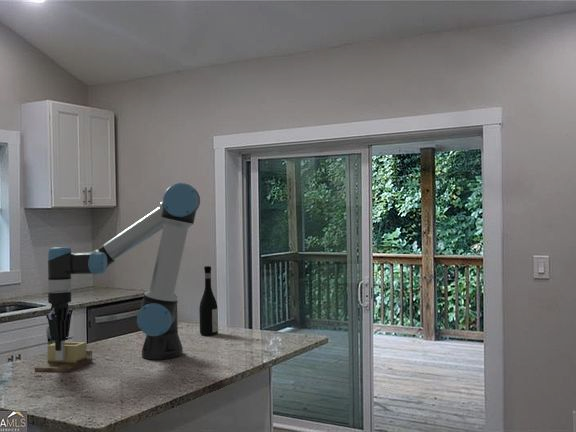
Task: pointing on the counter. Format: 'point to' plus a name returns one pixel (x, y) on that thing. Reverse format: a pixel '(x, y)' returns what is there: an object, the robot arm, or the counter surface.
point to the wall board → (64, 365)
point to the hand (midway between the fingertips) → (60, 359)
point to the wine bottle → (208, 308)
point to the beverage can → (49, 337)
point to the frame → (69, 352)
